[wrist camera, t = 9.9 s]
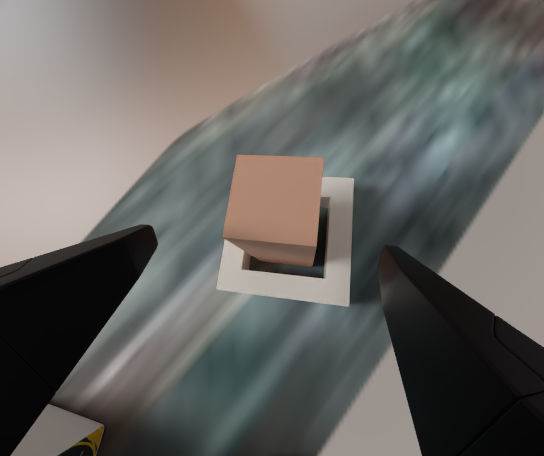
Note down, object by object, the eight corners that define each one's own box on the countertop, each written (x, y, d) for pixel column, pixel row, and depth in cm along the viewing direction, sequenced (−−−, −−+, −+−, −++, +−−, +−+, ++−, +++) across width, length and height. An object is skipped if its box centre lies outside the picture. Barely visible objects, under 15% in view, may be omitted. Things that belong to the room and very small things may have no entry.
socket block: (343, 304, 19) (349, 306, 16) (227, 289, 21) (216, 289, 18) (348, 190, 21) (353, 178, 19) (243, 185, 23) (236, 173, 21)
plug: (312, 267, 20) (316, 246, 10) (261, 261, 21) (222, 237, 11) (316, 215, 21) (323, 153, 12) (268, 211, 22) (237, 151, 12)
